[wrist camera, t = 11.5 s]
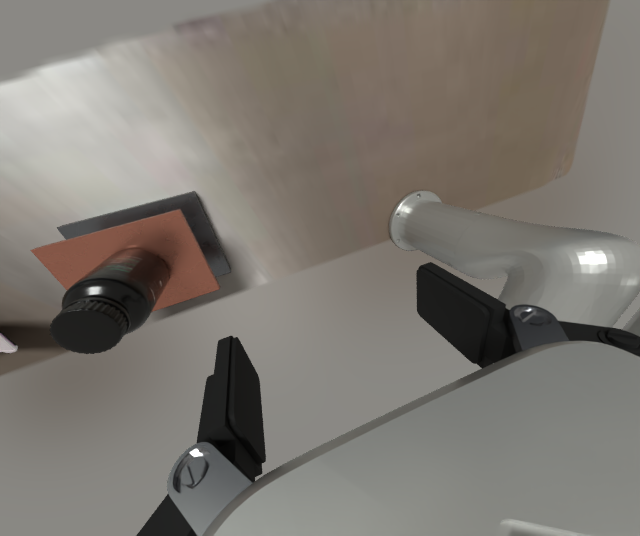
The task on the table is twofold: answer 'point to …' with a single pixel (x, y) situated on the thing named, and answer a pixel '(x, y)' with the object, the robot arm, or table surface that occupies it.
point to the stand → (144, 246)
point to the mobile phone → (7, 344)
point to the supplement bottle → (110, 301)
